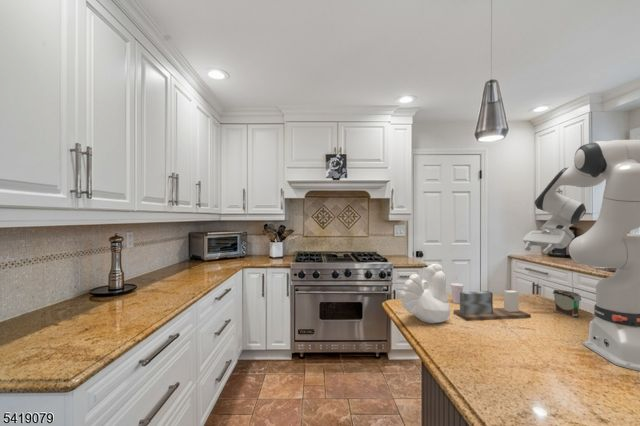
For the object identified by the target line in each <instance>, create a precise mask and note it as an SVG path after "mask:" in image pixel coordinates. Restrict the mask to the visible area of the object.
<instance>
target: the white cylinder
mask: <svg viewBox="0 0 640 426" xmlns="http://www.w3.org/2000/svg"><path fill="white" fill-rule="evenodd" d="M503 308H504V310H506V311H508V312H519V310H520V293H519V291H517V290H503Z"/></svg>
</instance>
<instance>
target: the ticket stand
mask: <svg viewBox="0 0 640 426" xmlns="http://www.w3.org/2000/svg"><path fill="white" fill-rule="evenodd" d="M493 298H494V297H493V292H491V291H488V290H485V291H483V290H482V291H481V290H480V291H462V292H460V304H459V309H453V314H454V315H456V316H458V317H459V318H461V319H462V320H465V321H467V322H469V321H470V322H471V321H490V320H492V321H493V320H513V319H516V320H517V319H531V318H532V317H531V315H532V314H530V313H528V312H525V311H522V310H520V309H519V312H508V311H506V310H504V307H495V308H494V307H493V306H494V305H493V302H494V301H493Z"/></svg>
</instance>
